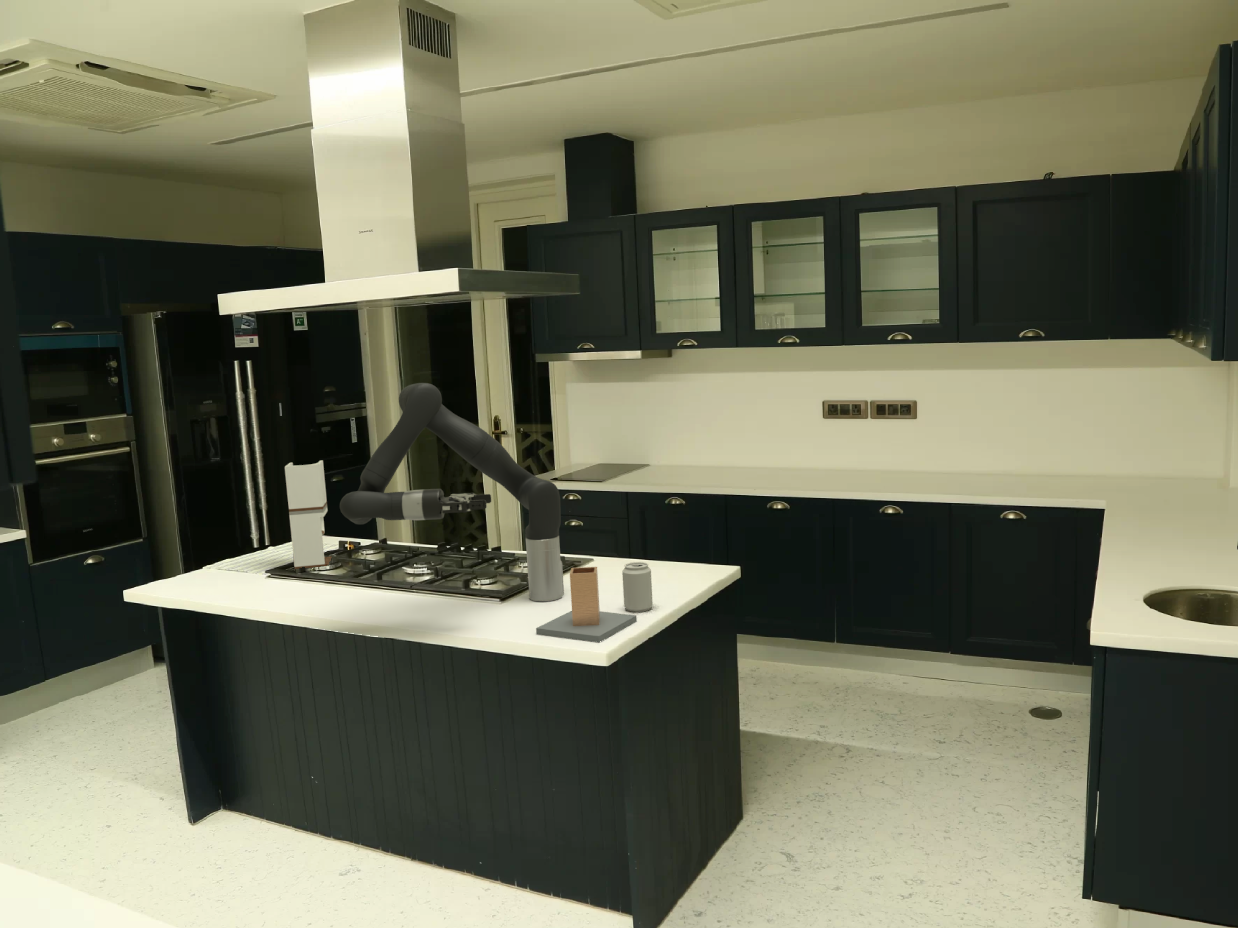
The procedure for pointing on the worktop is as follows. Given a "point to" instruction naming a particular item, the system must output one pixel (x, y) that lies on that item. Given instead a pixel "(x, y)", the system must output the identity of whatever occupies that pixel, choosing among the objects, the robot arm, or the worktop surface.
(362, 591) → the worktop surface
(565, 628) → the duct base
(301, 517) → the brown-banded white column
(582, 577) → the tan box
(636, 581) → the can
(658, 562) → the worktop surface
